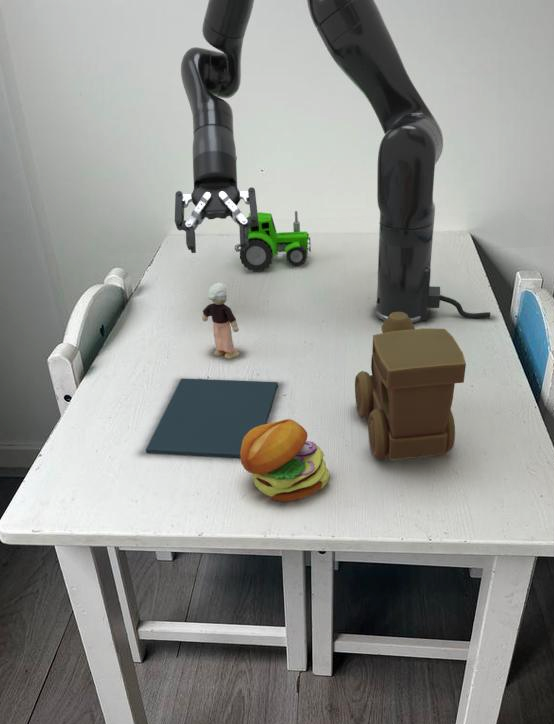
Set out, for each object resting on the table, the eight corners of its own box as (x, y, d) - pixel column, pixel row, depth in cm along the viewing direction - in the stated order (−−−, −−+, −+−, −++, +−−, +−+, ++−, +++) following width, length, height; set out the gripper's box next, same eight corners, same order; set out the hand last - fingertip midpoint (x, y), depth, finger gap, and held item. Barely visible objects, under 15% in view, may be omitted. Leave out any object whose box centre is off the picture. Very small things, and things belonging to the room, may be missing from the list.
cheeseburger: (325, 510, 94) (304, 447, 88) (248, 517, 98) (222, 458, 92) (336, 462, 102) (317, 401, 96) (264, 470, 105) (242, 412, 100)
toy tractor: (311, 269, 155) (310, 222, 149) (234, 273, 156) (229, 225, 150) (310, 250, 164) (309, 204, 158) (237, 253, 164) (233, 207, 158)
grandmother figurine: (249, 351, 128) (243, 282, 121) (238, 361, 126) (232, 291, 118) (210, 344, 131) (202, 276, 123) (199, 354, 129) (190, 285, 121)
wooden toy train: (460, 470, 100) (474, 361, 89) (376, 479, 99) (380, 370, 89) (422, 393, 115) (431, 292, 105) (350, 400, 115) (351, 300, 104)
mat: (277, 385, 119) (277, 381, 119) (255, 458, 104) (255, 455, 103) (181, 381, 122) (181, 378, 121) (146, 453, 106) (145, 449, 106)
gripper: (170, 151, 125) (173, 242, 123) (254, 146, 125) (258, 238, 123) (177, 174, 133) (180, 261, 131) (256, 170, 132) (260, 257, 131)
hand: (218, 250), depth 127 cm, fingers open, 8 cm apart
